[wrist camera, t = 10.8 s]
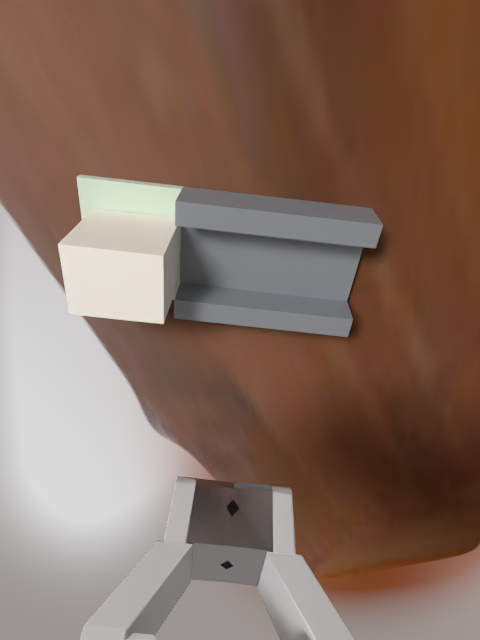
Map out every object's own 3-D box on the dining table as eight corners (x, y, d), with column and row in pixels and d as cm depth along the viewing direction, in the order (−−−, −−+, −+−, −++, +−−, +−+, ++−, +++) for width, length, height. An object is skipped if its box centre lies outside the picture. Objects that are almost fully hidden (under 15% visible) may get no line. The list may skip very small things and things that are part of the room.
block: (180, 218, 28) (163, 255, 23) (179, 278, 31) (163, 324, 26) (93, 208, 28) (57, 244, 23) (100, 270, 31) (69, 314, 26)
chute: (371, 208, 28) (383, 225, 25) (340, 314, 33) (347, 337, 30) (79, 174, 27) (61, 188, 25) (93, 287, 32) (78, 308, 30)
